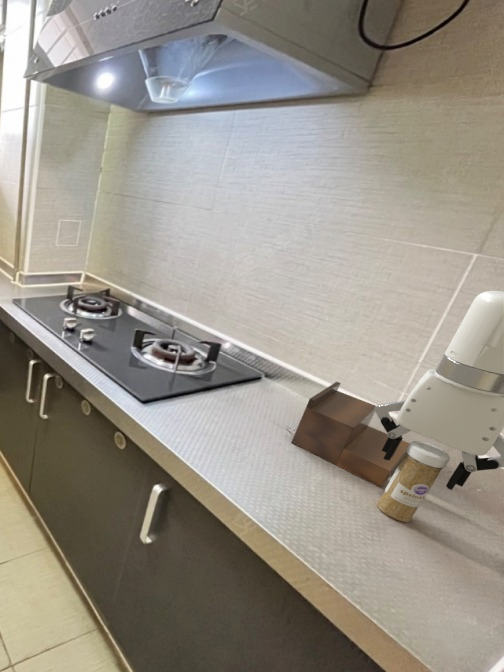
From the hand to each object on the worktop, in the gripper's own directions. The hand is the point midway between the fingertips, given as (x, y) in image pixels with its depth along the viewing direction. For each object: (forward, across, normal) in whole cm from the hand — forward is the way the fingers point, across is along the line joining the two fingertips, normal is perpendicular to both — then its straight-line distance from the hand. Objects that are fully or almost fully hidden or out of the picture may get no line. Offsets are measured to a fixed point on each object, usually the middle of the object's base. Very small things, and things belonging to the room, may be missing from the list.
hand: (418, 470), depth 64 cm
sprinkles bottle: (+9, 0, 0) cm, 9 cm away
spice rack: (+9, +10, -14) cm, 20 cm away
